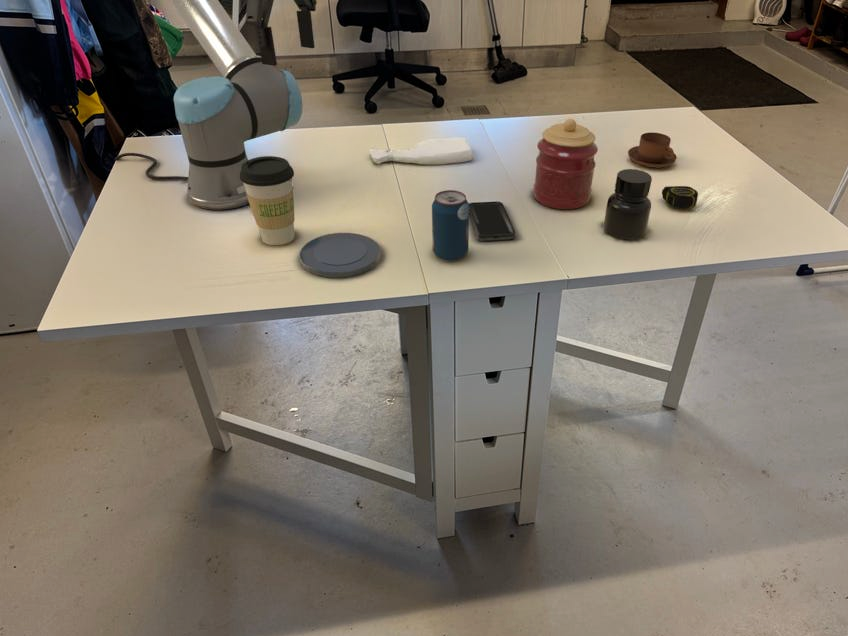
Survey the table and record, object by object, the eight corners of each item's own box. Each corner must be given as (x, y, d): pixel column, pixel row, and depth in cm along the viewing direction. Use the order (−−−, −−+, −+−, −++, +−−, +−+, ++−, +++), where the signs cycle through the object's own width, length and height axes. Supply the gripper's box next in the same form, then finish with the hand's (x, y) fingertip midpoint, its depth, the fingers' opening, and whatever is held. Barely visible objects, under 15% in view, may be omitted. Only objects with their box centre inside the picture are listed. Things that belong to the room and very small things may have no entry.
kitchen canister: (601, 198, 149) (614, 120, 138) (567, 216, 142) (577, 135, 131) (556, 180, 156) (564, 104, 145) (521, 197, 148) (527, 118, 137)
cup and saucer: (681, 159, 168) (687, 136, 164) (665, 175, 160) (670, 151, 156) (637, 149, 173) (641, 125, 169) (619, 163, 165) (623, 139, 161)
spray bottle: (474, 163, 162) (374, 171, 158) (464, 146, 170) (369, 153, 166) (474, 151, 160) (373, 159, 156) (464, 135, 168) (368, 142, 164)
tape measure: (689, 198, 150) (693, 183, 148) (699, 212, 145) (703, 196, 143) (660, 199, 150) (663, 183, 147) (669, 212, 145) (672, 197, 142)
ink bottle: (648, 223, 140) (659, 169, 133) (647, 243, 134) (659, 188, 126) (602, 218, 142) (610, 164, 134) (599, 237, 135) (608, 182, 127)
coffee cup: (291, 252, 126) (278, 178, 117) (243, 246, 128) (227, 172, 118) (311, 229, 134) (301, 157, 124) (266, 223, 135) (252, 152, 126)
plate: (285, 268, 122) (284, 262, 121) (326, 232, 133) (325, 226, 132) (357, 284, 119) (356, 278, 118) (393, 246, 130) (393, 240, 129)
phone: (501, 201, 144) (516, 234, 132) (501, 205, 144) (515, 239, 133) (466, 202, 143) (477, 236, 131) (465, 207, 143) (477, 241, 132)
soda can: (475, 256, 127) (476, 199, 120) (445, 267, 124) (445, 208, 117) (455, 241, 132) (455, 185, 124) (425, 251, 128) (424, 194, 121)
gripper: (246, -64, 105) (269, 75, 119) (326, -80, 123) (338, 42, 137) (207, -68, 107) (234, 69, 120) (291, -82, 125) (306, 38, 139)
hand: (289, 55), depth 129 cm, fingers open, 13 cm apart
